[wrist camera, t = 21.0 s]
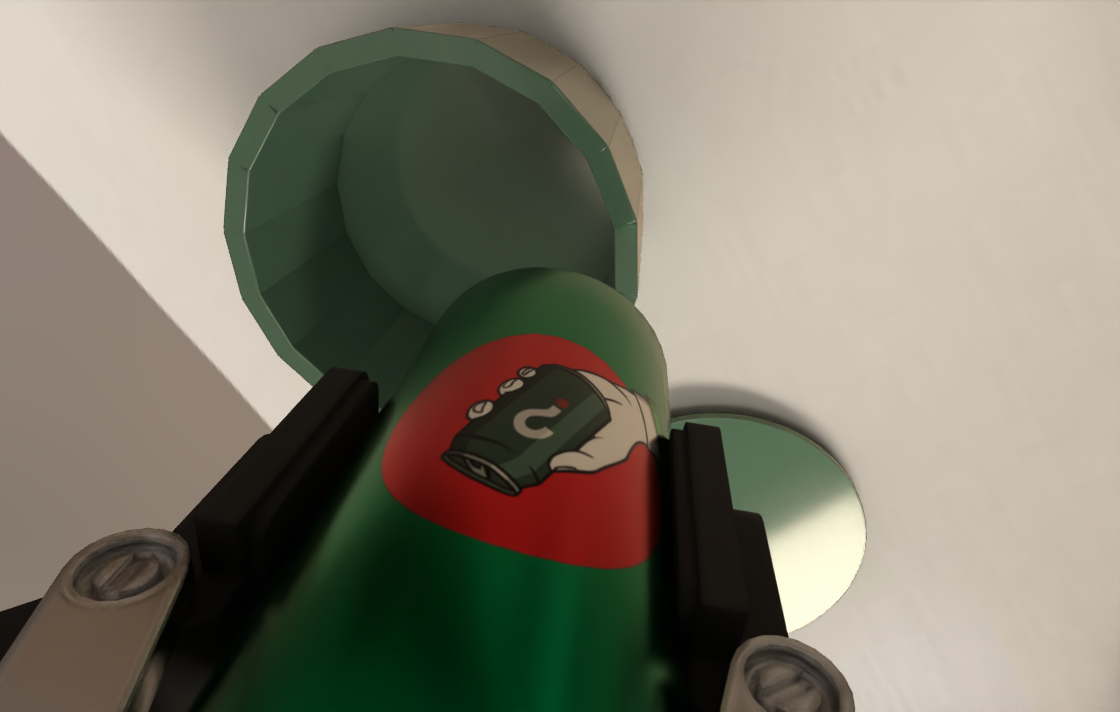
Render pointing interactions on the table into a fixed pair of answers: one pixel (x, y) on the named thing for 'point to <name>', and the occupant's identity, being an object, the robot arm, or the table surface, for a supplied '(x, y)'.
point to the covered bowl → (421, 189)
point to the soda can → (488, 528)
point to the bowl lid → (794, 509)
